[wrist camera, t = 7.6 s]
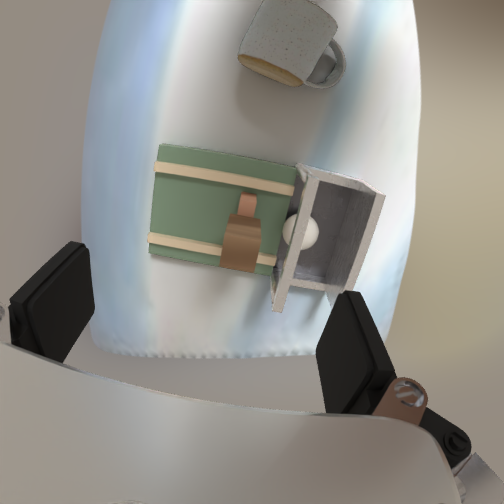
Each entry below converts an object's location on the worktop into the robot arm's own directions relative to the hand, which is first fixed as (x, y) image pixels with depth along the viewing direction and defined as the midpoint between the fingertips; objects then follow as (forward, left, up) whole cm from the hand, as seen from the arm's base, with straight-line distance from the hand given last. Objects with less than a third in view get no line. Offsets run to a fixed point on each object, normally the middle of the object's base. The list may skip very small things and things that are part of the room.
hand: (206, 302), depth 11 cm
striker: (+5, +1, -23) cm, 24 cm away
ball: (+5, +8, -23) cm, 24 cm away
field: (+5, -2, -25) cm, 25 cm away
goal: (+5, +9, -25) cm, 27 cm away
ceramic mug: (-15, +3, -25) cm, 29 cm away
